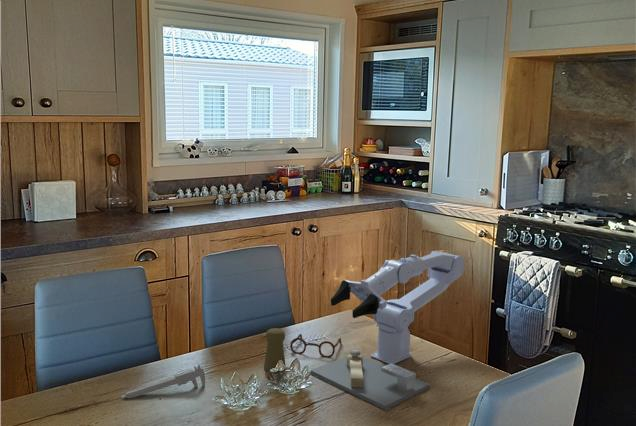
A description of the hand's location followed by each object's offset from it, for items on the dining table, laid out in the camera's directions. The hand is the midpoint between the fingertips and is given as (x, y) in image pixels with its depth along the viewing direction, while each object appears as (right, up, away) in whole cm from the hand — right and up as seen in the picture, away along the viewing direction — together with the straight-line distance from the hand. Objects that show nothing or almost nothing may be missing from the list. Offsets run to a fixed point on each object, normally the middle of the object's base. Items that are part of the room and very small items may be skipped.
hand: (342, 308), depth 159 cm
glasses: (-7, -16, +24) cm, 29 cm away
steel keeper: (+14, -19, -2) cm, 24 cm away
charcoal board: (+7, -20, +2) cm, 21 cm away
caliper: (-45, -20, -8) cm, 49 cm away
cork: (-18, -18, +8) cm, 27 cm away
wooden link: (+4, -18, +3) cm, 19 cm away
